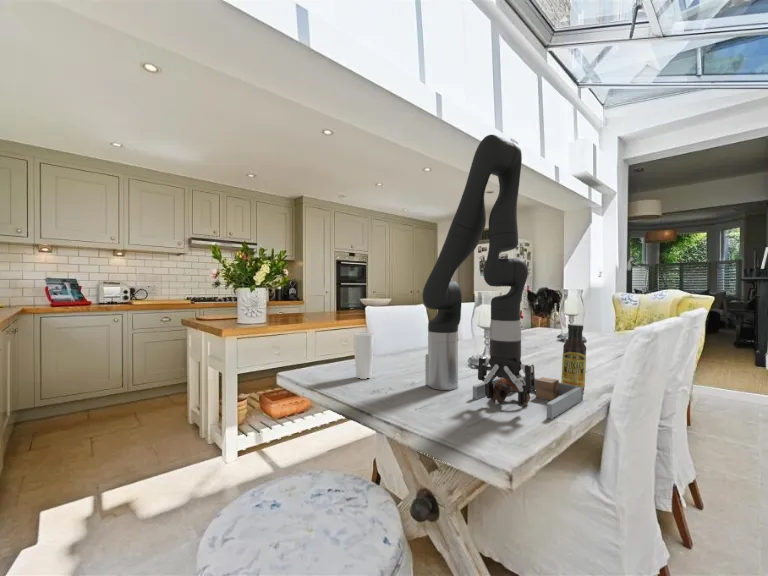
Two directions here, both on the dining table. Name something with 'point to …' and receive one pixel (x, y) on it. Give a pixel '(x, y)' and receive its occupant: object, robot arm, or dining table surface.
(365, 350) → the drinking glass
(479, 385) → the corral
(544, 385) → the block
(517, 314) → the robot arm
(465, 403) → the dining table surface
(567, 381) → the sauce bottle
